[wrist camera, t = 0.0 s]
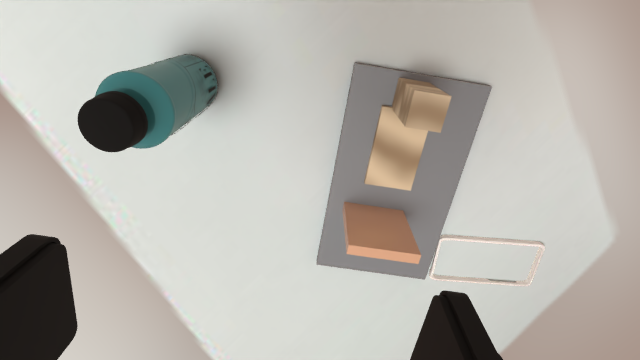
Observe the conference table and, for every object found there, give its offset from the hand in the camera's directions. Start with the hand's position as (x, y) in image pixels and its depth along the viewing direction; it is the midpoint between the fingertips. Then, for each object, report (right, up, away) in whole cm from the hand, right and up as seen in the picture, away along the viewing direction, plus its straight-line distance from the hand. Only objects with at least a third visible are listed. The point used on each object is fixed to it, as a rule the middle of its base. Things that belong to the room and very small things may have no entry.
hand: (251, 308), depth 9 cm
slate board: (+11, +3, +39) cm, 40 cm away
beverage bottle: (-13, +15, +34) cm, 39 cm away
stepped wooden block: (+12, +9, +35) cm, 38 cm away
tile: (+9, -1, +39) cm, 40 cm away
